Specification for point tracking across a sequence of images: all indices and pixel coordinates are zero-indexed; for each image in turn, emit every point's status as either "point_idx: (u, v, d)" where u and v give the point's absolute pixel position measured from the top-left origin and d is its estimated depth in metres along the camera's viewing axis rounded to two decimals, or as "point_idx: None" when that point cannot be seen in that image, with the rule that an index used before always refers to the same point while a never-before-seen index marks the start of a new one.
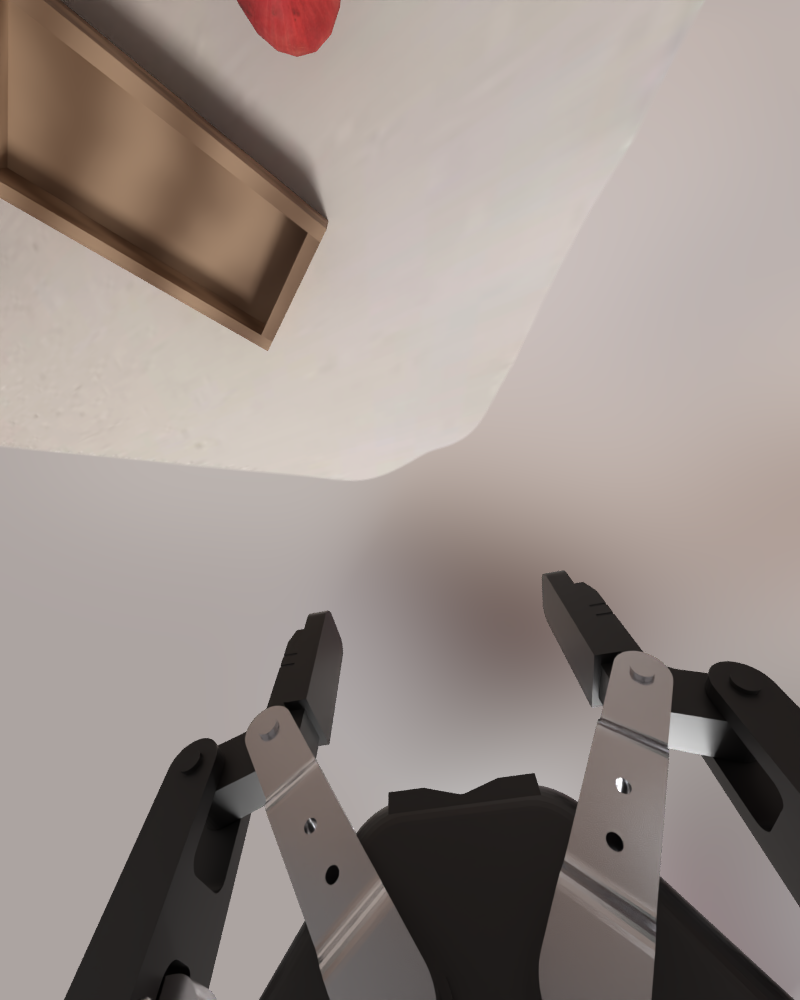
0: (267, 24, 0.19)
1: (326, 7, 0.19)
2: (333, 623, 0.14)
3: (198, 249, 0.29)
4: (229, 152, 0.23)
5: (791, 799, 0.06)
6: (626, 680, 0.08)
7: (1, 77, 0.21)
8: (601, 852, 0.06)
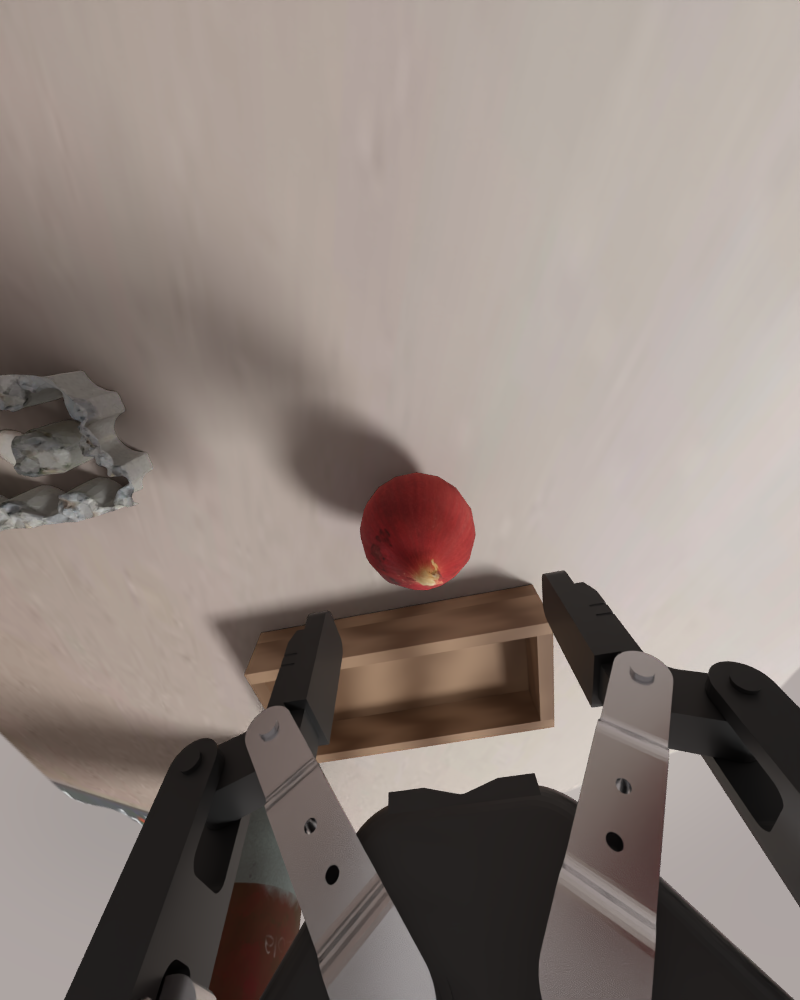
0: None
1: (470, 537, 0.17)
2: (333, 623, 0.14)
3: (444, 683, 0.28)
4: (441, 642, 0.23)
5: (791, 799, 0.06)
6: (626, 680, 0.08)
7: None
8: (601, 852, 0.06)
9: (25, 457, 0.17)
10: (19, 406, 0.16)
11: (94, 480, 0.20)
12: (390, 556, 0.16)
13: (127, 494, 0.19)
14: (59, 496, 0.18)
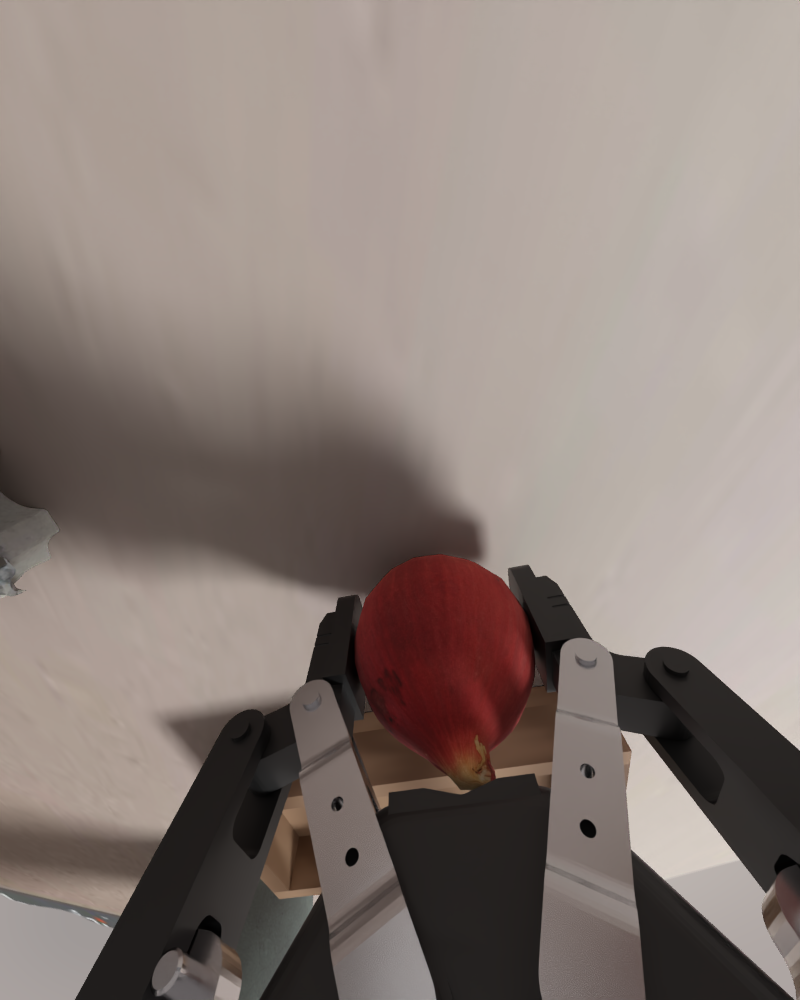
0: None
1: (532, 672, 0.10)
2: (361, 607, 0.14)
3: None
4: None
5: (730, 771, 0.07)
6: (574, 667, 0.09)
7: None
8: (578, 842, 0.06)
9: None
10: None
11: None
12: (402, 720, 0.09)
13: (7, 578, 0.12)
14: None
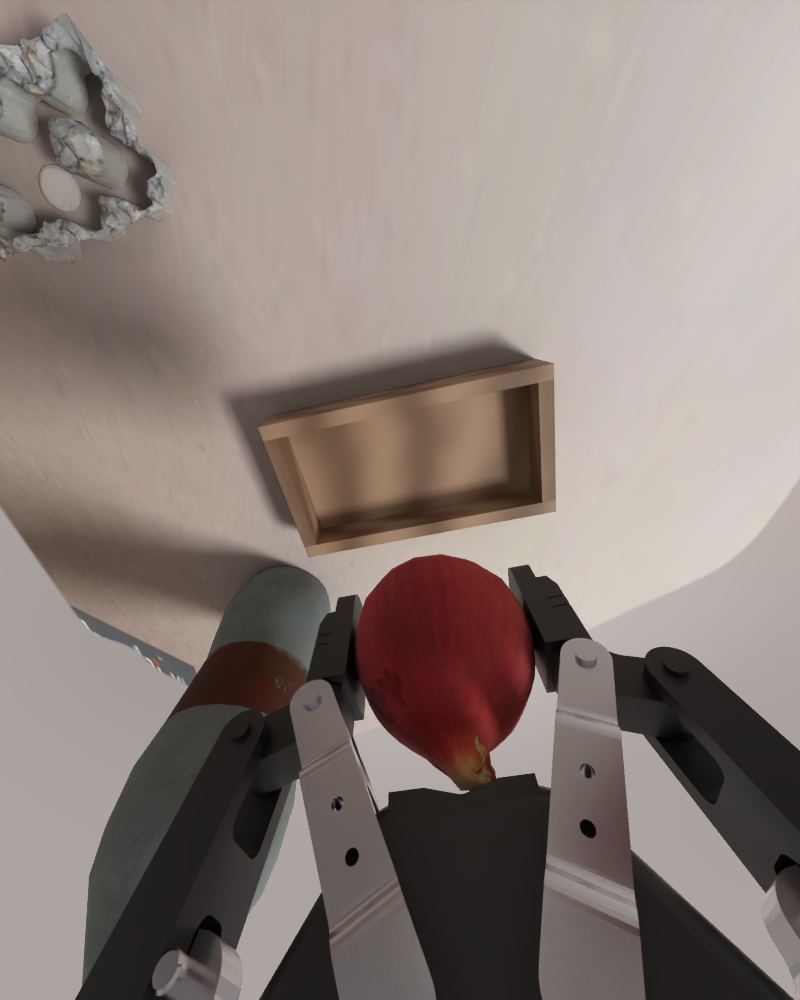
0: None
1: (532, 672, 0.10)
2: (361, 607, 0.14)
3: (449, 476, 0.29)
4: (446, 387, 0.23)
5: (730, 771, 0.07)
6: (574, 667, 0.09)
7: (302, 480, 0.28)
8: (578, 842, 0.06)
9: (63, 148, 0.19)
10: (48, 81, 0.18)
11: None
12: (402, 721, 0.09)
13: (156, 184, 0.20)
14: (99, 198, 0.20)
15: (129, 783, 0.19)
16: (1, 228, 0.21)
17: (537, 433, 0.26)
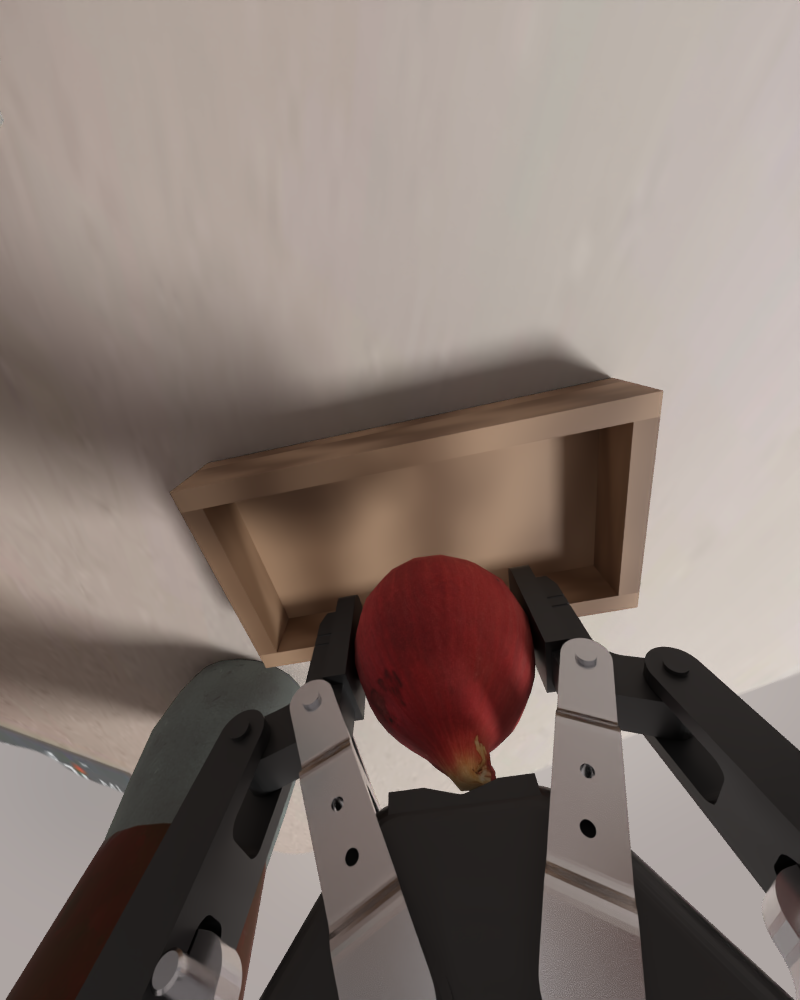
0: None
1: (532, 672, 0.10)
2: (361, 607, 0.14)
3: (474, 550, 0.20)
4: (479, 430, 0.14)
5: (730, 771, 0.07)
6: (574, 667, 0.09)
7: (254, 558, 0.19)
8: (578, 842, 0.06)
9: None
10: None
11: None
12: (402, 721, 0.09)
13: None
14: None
15: None
16: None
17: (619, 497, 0.16)
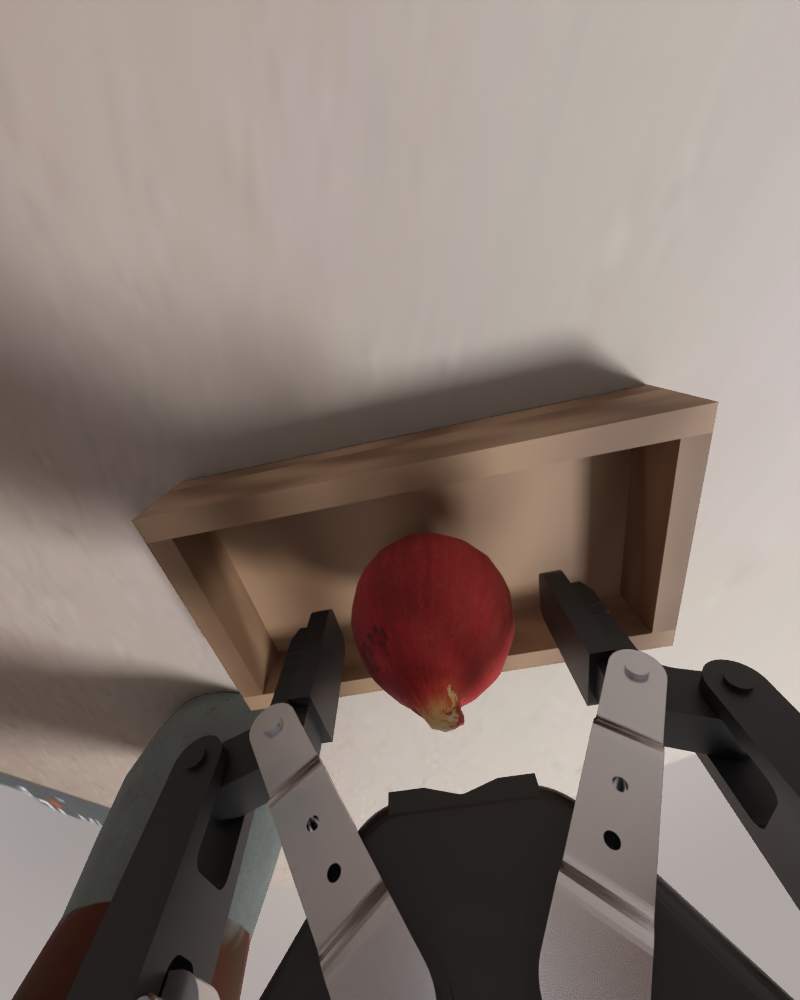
0: None
1: (508, 638, 0.11)
2: (336, 621, 0.14)
3: None
4: (497, 449, 0.12)
5: (785, 796, 0.06)
6: (621, 678, 0.09)
7: (236, 588, 0.17)
8: (599, 851, 0.06)
9: None
10: None
11: None
12: (386, 669, 0.11)
13: None
14: None
15: None
16: None
17: (657, 523, 0.14)
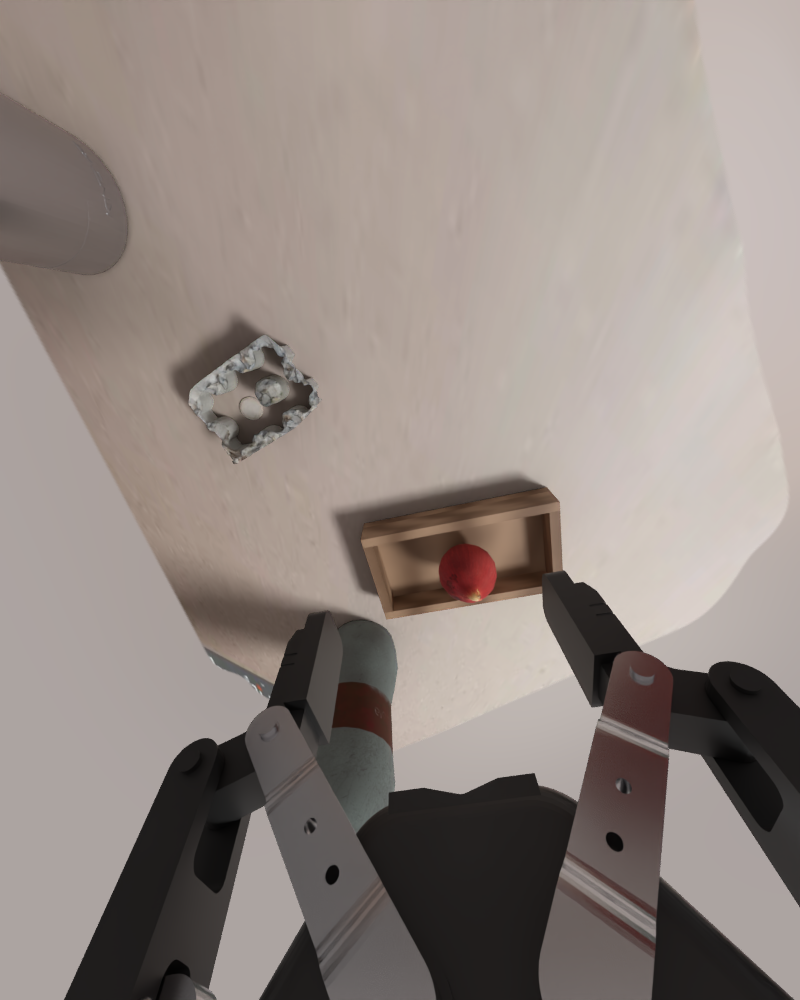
0: None
1: (494, 577, 0.35)
2: (333, 623, 0.14)
3: None
4: (487, 516, 0.35)
5: (791, 799, 0.06)
6: (626, 680, 0.08)
7: (383, 566, 0.41)
8: (601, 852, 0.06)
9: (262, 395, 0.32)
10: (253, 365, 0.31)
11: (292, 407, 0.34)
12: (456, 587, 0.34)
13: (314, 396, 0.32)
14: (283, 414, 0.32)
15: None
16: (227, 443, 0.34)
17: (549, 540, 0.37)
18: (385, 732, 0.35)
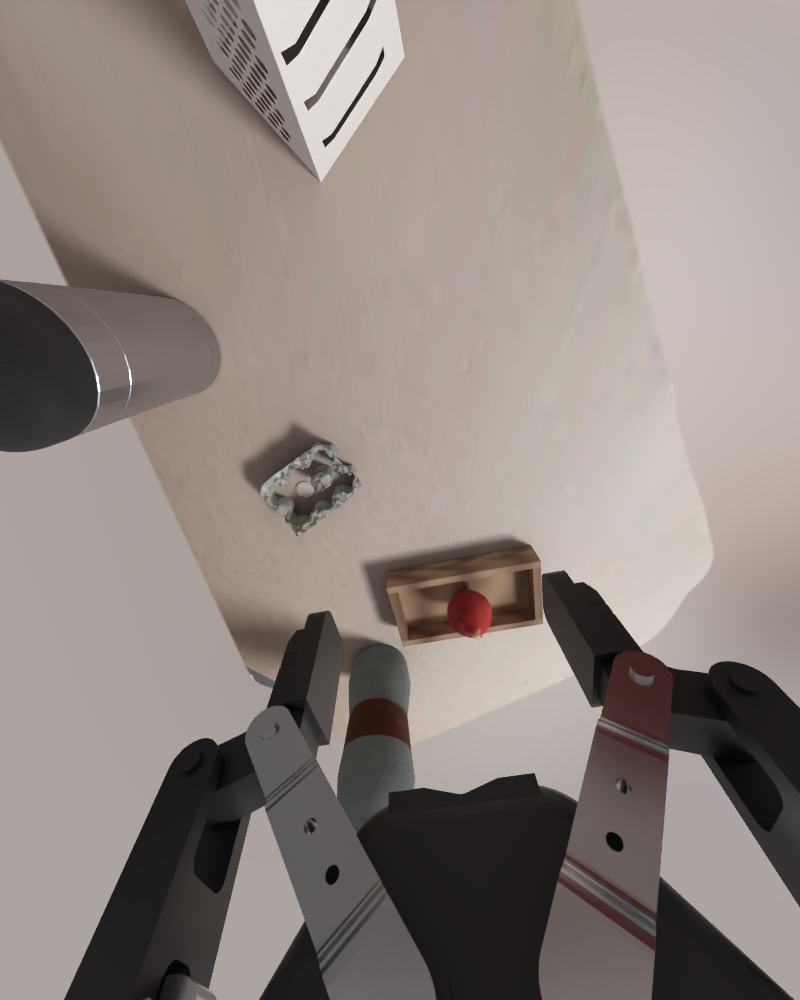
0: None
1: (490, 618, 0.46)
2: (333, 623, 0.14)
3: None
4: (485, 571, 0.46)
5: (791, 799, 0.06)
6: (626, 680, 0.08)
7: (401, 605, 0.51)
8: (601, 852, 0.06)
9: (317, 484, 0.41)
10: (309, 463, 0.40)
11: (337, 487, 0.44)
12: (462, 626, 0.45)
13: (356, 482, 0.41)
14: (332, 496, 0.42)
15: (347, 772, 0.41)
16: (289, 518, 0.44)
17: (532, 587, 0.48)
18: (405, 737, 0.45)
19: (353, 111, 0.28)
